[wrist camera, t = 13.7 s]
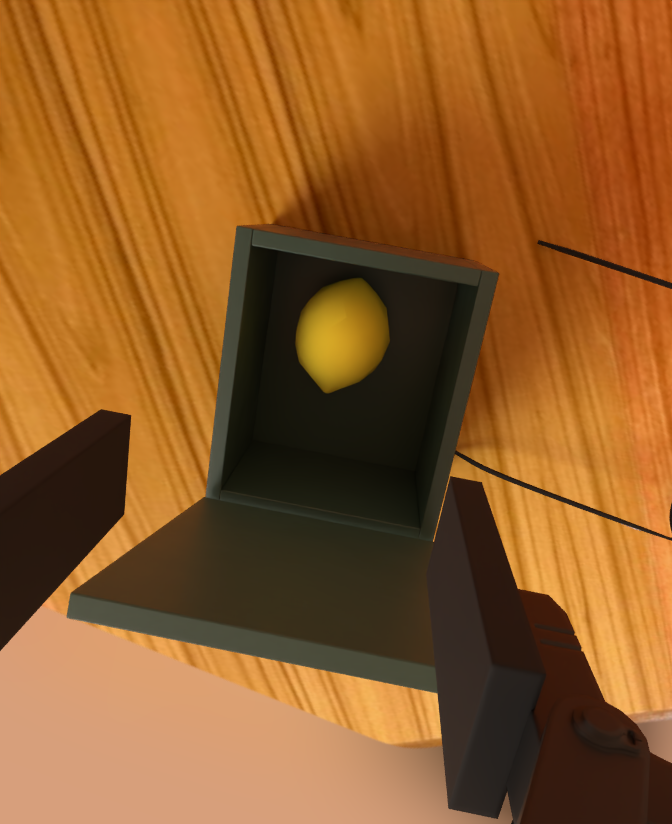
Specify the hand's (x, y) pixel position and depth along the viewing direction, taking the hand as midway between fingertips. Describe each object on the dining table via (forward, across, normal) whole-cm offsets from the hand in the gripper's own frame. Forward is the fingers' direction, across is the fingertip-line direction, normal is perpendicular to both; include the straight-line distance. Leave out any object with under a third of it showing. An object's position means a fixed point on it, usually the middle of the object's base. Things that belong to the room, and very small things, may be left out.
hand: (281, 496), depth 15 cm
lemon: (+25, 0, 0) cm, 25 cm away
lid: (+9, -1, +7) cm, 11 cm away
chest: (+25, 0, +2) cm, 25 cm away
